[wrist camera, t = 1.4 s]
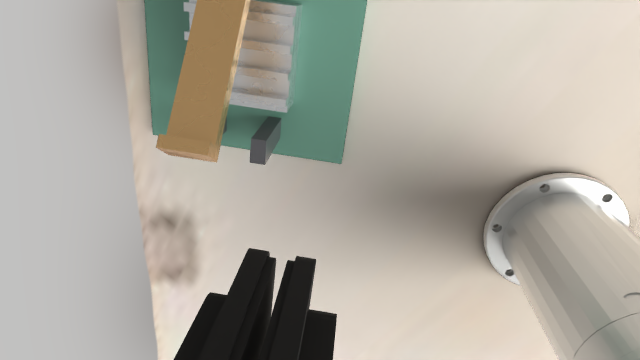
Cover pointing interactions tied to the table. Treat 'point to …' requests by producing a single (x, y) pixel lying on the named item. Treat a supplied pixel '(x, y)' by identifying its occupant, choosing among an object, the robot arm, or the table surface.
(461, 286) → the table surface
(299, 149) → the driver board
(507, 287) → the table surface
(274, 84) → the heat sink
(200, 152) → the strap
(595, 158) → the table surface
